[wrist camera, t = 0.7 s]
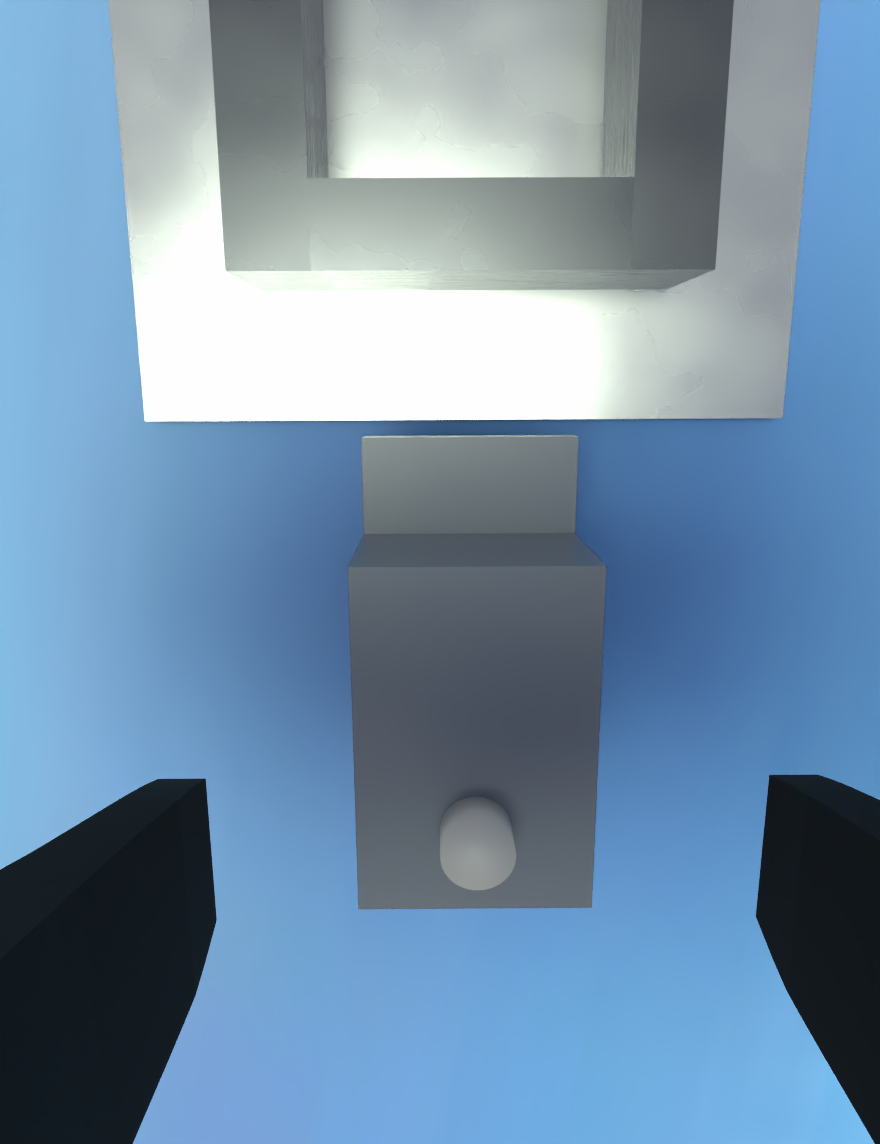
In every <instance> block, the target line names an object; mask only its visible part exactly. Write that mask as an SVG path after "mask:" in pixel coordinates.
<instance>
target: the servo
mask: <svg viewBox="0 0 880 1144" xmlns="http://www.w3.org/2000/svg"><path fill="white" fill-rule="evenodd" d="M578 440H579V437H578V436H575V435H449V436H363V437H362V438H361V445H362V483H363V522H364V535H363V537H362V539H361V541H360V543H359V545H358V547H357V549H356V551H355V553H354V556H353V558H352V560H351V562H350V564H349V566H348V591H349V623H350V655H351V687H352V719H353V752H354V784H355V816H356V848H357V880H358V909H455V908H590V907H592V891H593V868H594V845H595V822H596V799H597V776H598V753H599V730H600V707H601V684H602V661H603V638H604V615H605V592H606V569H607V566H606V565H605V564H604V563H603V562H602V561H601V560H600V558H599V557H598V556H597V555H596V554H595V553H594V552H593V551H592V550H591V549H590V548H589V547H588V546H587V545H586V544H585V543H584V542H583V541H582V540H581V539H580V537H579V536H578V535H577V534H576V533H575V528H576V498H577V469H578Z"/></svg>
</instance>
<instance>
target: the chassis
mask: <svg viewBox="0 0 880 1144" xmlns="http://www.w3.org/2000/svg"><path fill="white" fill-rule="evenodd" d="M109 12H110V23H111V35H112V46H113V58H114V70H115V81H116V93H117V104H118V116H119V127H120V139H121V151H122V162H123V174H124V185H125V197H126V208H127V220H128V232H129V243H130V255H131V266H132V278H133V290H134V301H135V313H136V324H137V336H138V347H139V359H140V371H141V382H142V394H143V405H144V417H145V421H326V420H527V419H729V418H783V410H784V399H785V388H786V377H787V366H788V355H789V344H790V333H791V322H792V310H793V299H794V288H795V277H796V266H797V255H798V244H799V233H800V222H801V211H802V200H803V189H804V178H805V167H806V155H807V144H808V133H809V122H810V111H811V100H812V89H813V78H814V67H815V56H816V45H817V34H818V23H819V12H820V0H109Z"/></svg>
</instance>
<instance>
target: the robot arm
mask: <svg viewBox="0 0 880 1144" xmlns="http://www.w3.org/2000/svg"><path fill="white" fill-rule="evenodd" d="M756 918H757V920H758V923H759V925H760V928H761V930H762V933H763V935H764V938H765V940H766V943H767V945H768V948H769V950H770V953H771V956H772V958H773V960H774V963H775V965H776V967H777V969H778V972H779V974H780V976H781V979H782V981H783V983H784V985H785V988H786V990H787V992H788V994H789V996H790V997H791V999H792V1001H793V1003H794V1005H795V1006H796V1008H797V1010H798V1012H799V1014H800V1015H801V1017H802V1019H803V1021H804V1022H805V1024H806V1026H807V1028H808V1029H809V1031H810V1033H811V1035H812V1036H813V1038H814V1040H815V1042H816V1043H817V1045H818V1047H819V1049H820V1050H821V1052H822V1054H823V1056H824V1057H825V1059H826V1061H827V1062H828V1064H829V1066H830V1067H831V1069H832V1071H833V1073H834V1074H835V1076H836V1078H837V1079H838V1081H839V1083H840V1085H841V1086H842V1088H843V1090H844V1091H845V1093H846V1095H847V1097H848V1098H849V1100H850V1102H851V1103H852V1105H853V1107H854V1109H855V1110H856V1112H857V1114H858V1115H859V1117H860V1119H861V1121H862V1122H863V1124H864V1126H865V1127H866V1129H867V1131H868V1133H869V1134H870V1136H871V1138H872V1139H873V1141H874V1143H875V1144H880V800H878V799H876V798H874V797H872V796H869V795H867V794H865V793H863V792H861V791H858V790H856V789H854V788H852V787H849V786H847V785H844V784H842V783H839V782H837V781H834V780H832V779H829V778H826V777H823V776H820V775H769V785H768V796H767V806H766V817H765V827H764V837H763V848H762V858H761V869H760V879H759V890H758V900H757V910H756ZM215 924H216V908H215V895H214V882H213V869H212V856H211V843H210V830H209V817H208V804H207V791H206V779H157V780H155V781H153V782H150V783H148V784H146V785H144V786H142V787H140V788H138V789H137V790H135V791H133V792H131V793H130V794H128V795H126V796H124V797H123V798H121V799H119V800H118V801H116V802H114V803H113V804H111V805H109V806H108V807H106V808H104V809H103V810H101V811H99V812H98V813H96V814H94V815H93V816H91V817H89V818H88V819H86V820H85V821H83V822H81V823H80V824H78V825H76V826H75V827H73V828H71V829H70V830H68V831H66V832H65V833H63V834H61V835H60V836H58V837H56V838H55V839H53V840H51V841H50V842H48V843H46V844H45V845H43V846H41V847H40V848H38V849H36V850H35V851H33V852H31V853H30V854H28V855H26V856H24V857H22V858H21V859H19V860H17V861H15V862H13V863H11V864H10V865H8V866H6V867H4V868H2V869H1V870H0V1144H133V1141H134V1139H135V1137H136V1134H137V1132H138V1130H139V1127H140V1125H141V1123H142V1120H143V1118H144V1116H145V1113H146V1111H147V1109H148V1106H149V1104H150V1102H151V1099H152V1097H153V1095H154V1092H155V1090H156V1088H157V1085H158V1083H159V1081H160V1078H161V1076H162V1074H163V1071H164V1069H165V1067H166V1065H167V1062H168V1060H169V1058H170V1055H171V1053H172V1050H173V1048H174V1046H175V1043H176V1041H177V1038H178V1036H179V1034H180V1031H181V1029H182V1027H183V1024H184V1022H185V1019H186V1017H187V1015H188V1012H189V1010H190V1007H191V1005H192V1002H193V1000H194V997H195V995H196V992H197V988H198V985H199V981H200V978H201V975H202V971H203V968H204V964H205V961H206V957H207V954H208V950H209V946H210V942H211V939H212V935H213V931H214V928H215Z"/></svg>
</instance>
